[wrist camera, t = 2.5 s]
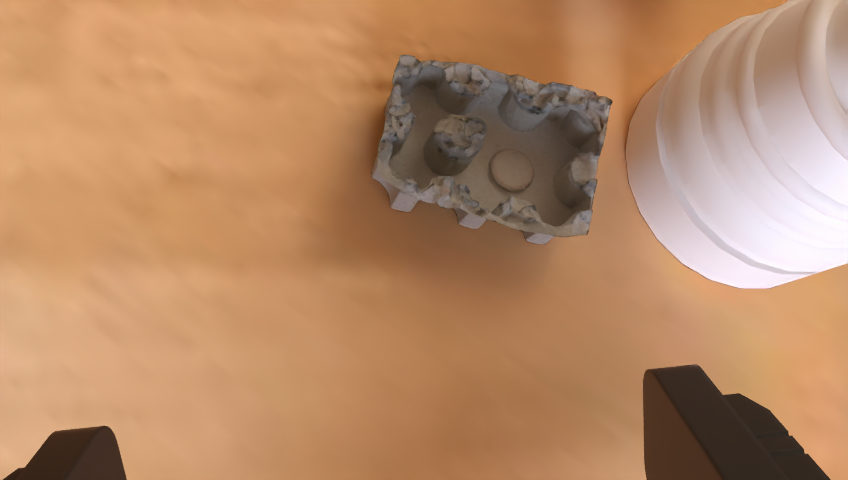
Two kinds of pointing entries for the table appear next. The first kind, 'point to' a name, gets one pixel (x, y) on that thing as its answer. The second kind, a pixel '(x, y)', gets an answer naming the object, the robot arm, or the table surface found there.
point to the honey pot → (750, 148)
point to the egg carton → (492, 147)
